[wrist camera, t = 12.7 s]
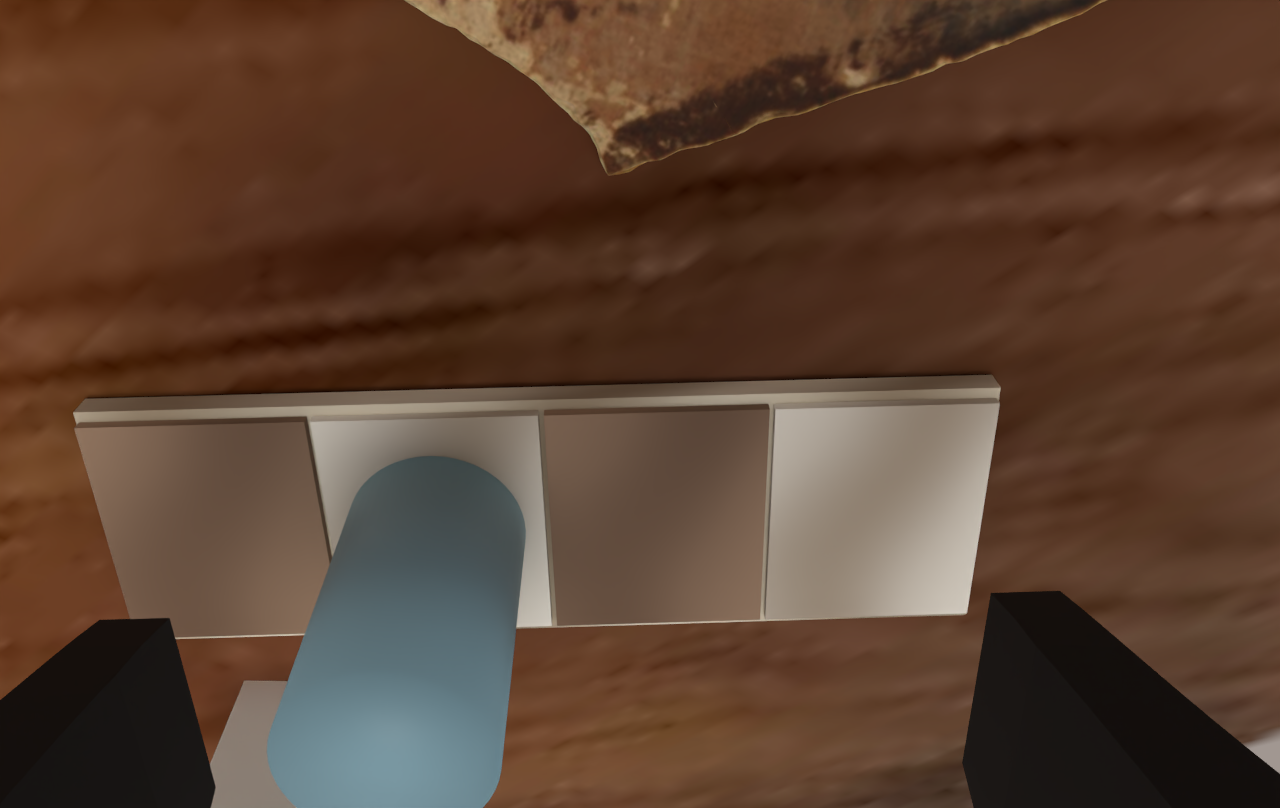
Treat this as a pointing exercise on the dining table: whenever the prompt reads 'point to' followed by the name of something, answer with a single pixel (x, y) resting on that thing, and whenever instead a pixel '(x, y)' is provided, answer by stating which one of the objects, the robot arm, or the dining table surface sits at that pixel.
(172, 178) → the dining table surface
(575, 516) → the board
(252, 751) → the die
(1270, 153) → the dining table surface
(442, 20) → the shard
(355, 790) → the blue capsule cylinder
